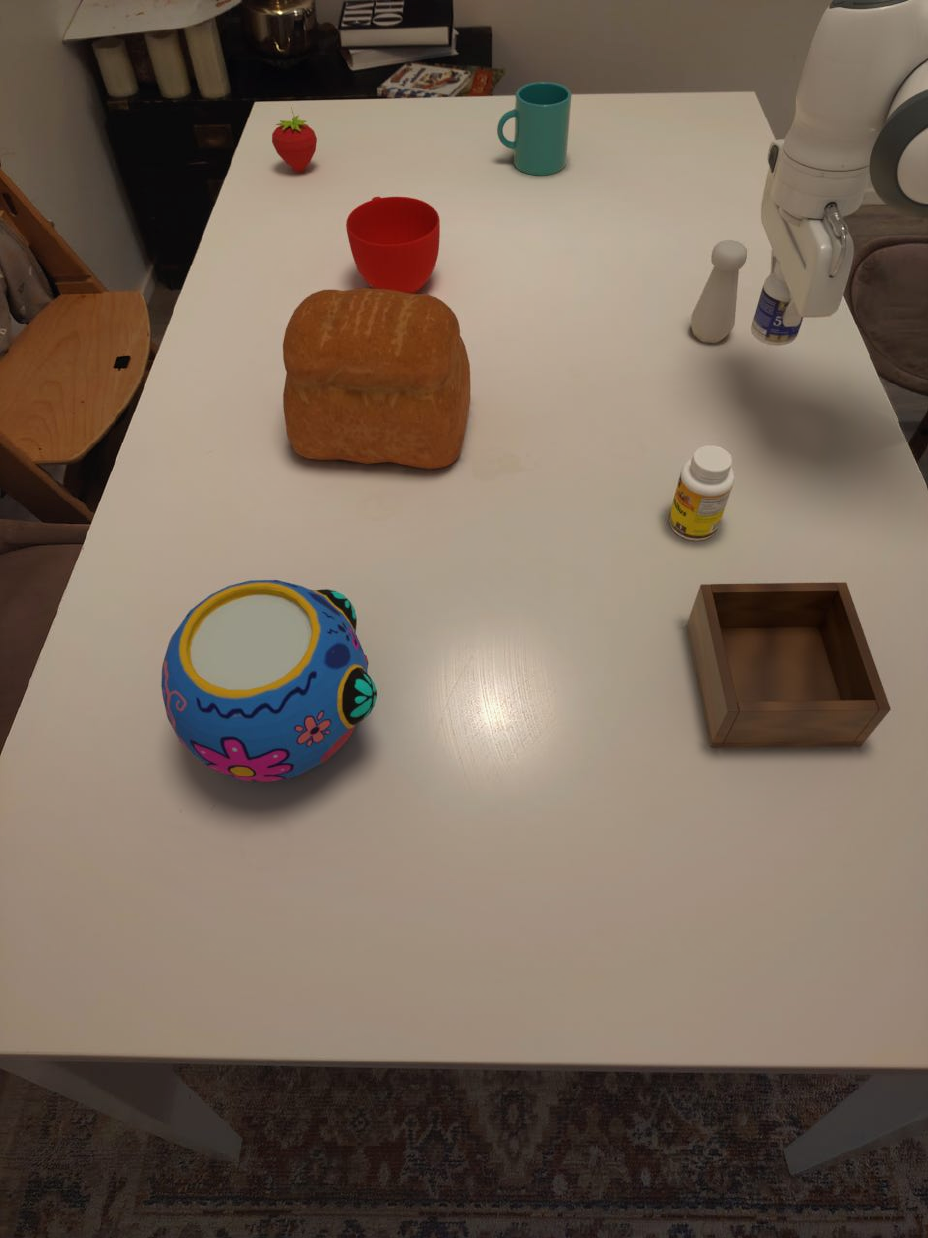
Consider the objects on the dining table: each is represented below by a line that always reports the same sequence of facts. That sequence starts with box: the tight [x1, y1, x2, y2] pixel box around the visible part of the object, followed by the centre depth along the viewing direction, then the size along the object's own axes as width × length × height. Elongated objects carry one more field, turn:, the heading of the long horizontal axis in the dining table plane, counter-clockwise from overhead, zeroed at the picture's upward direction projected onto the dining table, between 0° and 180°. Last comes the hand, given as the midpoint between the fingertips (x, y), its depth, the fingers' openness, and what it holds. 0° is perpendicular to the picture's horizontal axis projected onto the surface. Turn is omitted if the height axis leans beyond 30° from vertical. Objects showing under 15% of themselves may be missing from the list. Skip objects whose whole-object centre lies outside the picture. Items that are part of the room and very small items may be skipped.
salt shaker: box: [690, 239, 748, 344], centre depth 108 cm, size 6×6×13 cm
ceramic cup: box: [345, 196, 441, 294], centre depth 119 cm, size 13×17×10 cm
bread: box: [282, 287, 472, 470], centre depth 97 cm, size 18×22×17 cm
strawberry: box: [271, 107, 318, 174], centre depth 138 cm, size 6×8×10 cm
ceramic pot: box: [160, 579, 378, 783], centre depth 73 cm, size 18×18×15 cm
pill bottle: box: [750, 259, 804, 347], centre depth 92 cm, size 5×5×9 cm
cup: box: [496, 81, 572, 177], centre depth 138 cm, size 9×12×11 cm
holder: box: [686, 581, 892, 748], centre depth 78 cm, size 14×14×7 cm
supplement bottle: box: [668, 444, 735, 542], centre depth 89 cm, size 6×6×10 cm
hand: (782, 304), depth 93 cm, fingers closed on pill bottle, 5 cm apart
